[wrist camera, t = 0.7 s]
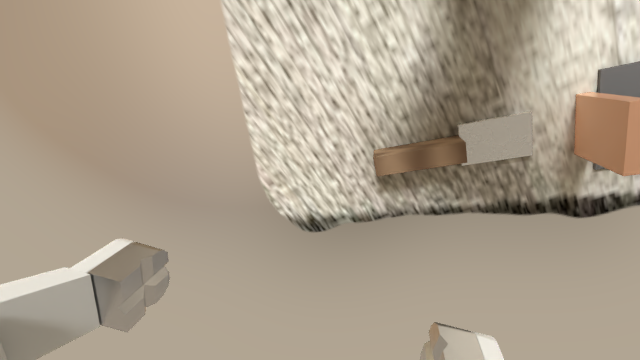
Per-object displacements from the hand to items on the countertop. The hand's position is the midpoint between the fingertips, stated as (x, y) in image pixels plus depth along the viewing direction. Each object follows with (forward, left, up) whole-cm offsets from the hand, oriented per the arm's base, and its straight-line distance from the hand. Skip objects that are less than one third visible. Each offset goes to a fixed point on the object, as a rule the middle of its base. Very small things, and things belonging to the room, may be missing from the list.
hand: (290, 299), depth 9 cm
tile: (-14, +24, -38) cm, 48 cm away
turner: (-3, +13, -38) cm, 40 cm away
